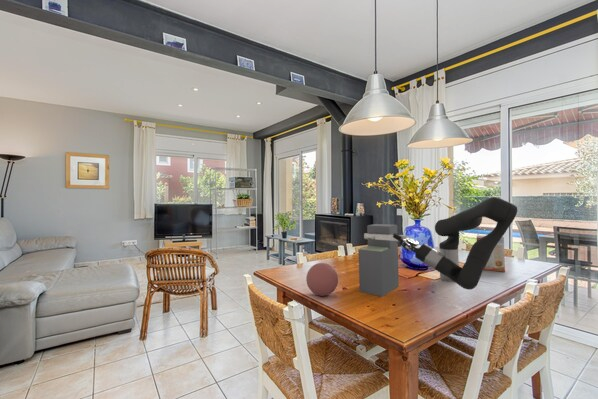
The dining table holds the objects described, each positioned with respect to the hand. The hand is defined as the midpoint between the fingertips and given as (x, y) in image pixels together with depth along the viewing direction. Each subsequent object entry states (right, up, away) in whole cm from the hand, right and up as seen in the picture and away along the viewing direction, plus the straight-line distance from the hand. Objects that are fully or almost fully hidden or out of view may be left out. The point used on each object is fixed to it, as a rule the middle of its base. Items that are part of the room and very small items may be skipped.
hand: (395, 234), depth 133 cm
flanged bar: (-4, -3, +4) cm, 7 cm away
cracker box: (+73, -27, +42) cm, 89 cm away
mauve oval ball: (-34, -30, +6) cm, 46 cm away
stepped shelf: (-4, -29, +11) cm, 31 cm away
